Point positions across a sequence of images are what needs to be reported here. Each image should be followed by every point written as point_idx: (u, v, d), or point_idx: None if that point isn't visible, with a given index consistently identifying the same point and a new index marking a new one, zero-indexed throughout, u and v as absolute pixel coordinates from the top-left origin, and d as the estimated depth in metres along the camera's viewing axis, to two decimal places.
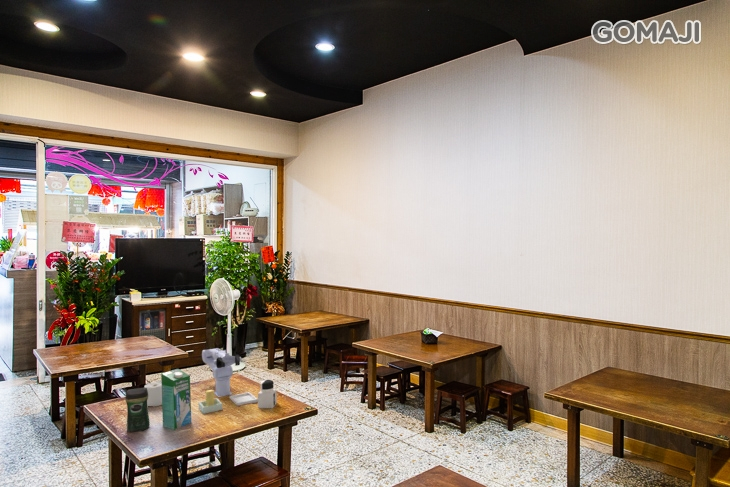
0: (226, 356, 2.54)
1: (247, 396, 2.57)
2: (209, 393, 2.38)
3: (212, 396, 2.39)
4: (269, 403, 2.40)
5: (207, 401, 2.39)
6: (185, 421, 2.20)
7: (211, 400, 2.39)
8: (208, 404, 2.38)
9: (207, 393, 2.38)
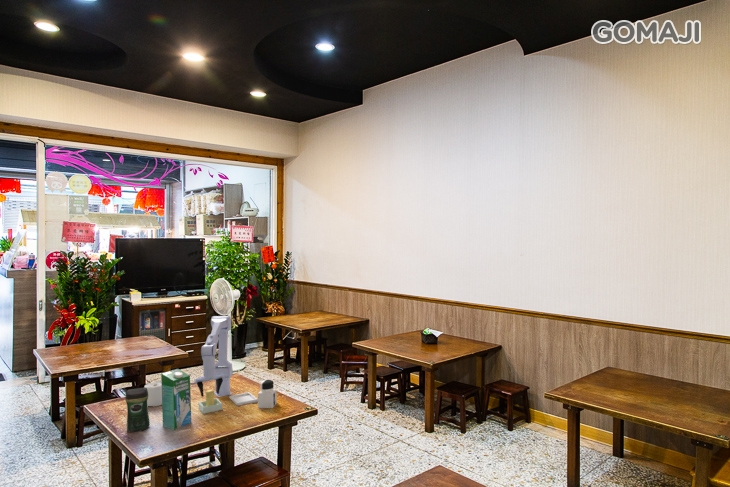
0: None
1: (247, 396, 2.57)
2: (209, 393, 2.38)
3: (212, 396, 2.39)
4: (269, 403, 2.40)
5: (207, 401, 2.39)
6: (185, 421, 2.20)
7: (211, 400, 2.39)
8: (208, 404, 2.38)
9: (207, 393, 2.38)
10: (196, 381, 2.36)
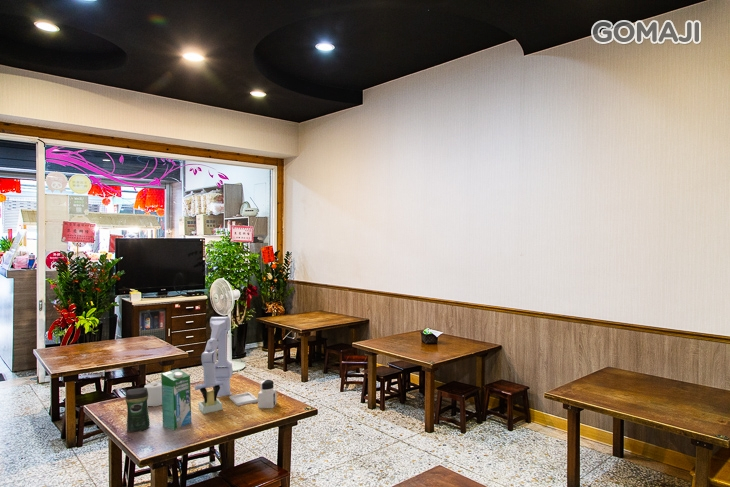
0: None
1: (247, 396, 2.57)
2: (209, 393, 2.38)
3: (212, 396, 2.39)
4: (269, 403, 2.40)
5: (207, 401, 2.39)
6: (185, 421, 2.20)
7: (211, 400, 2.39)
8: (208, 404, 2.38)
9: (207, 393, 2.38)
10: (196, 388, 2.36)
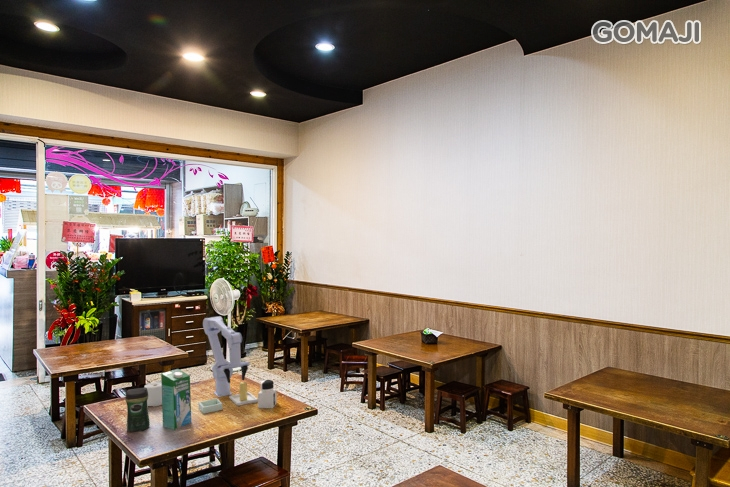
0: None
1: (247, 396, 2.57)
2: (243, 385, 2.50)
3: (245, 388, 2.51)
4: (269, 403, 2.40)
5: (240, 392, 2.50)
6: (185, 421, 2.20)
7: (244, 391, 2.51)
8: (241, 395, 2.50)
9: (241, 385, 2.50)
10: (223, 368, 2.49)
